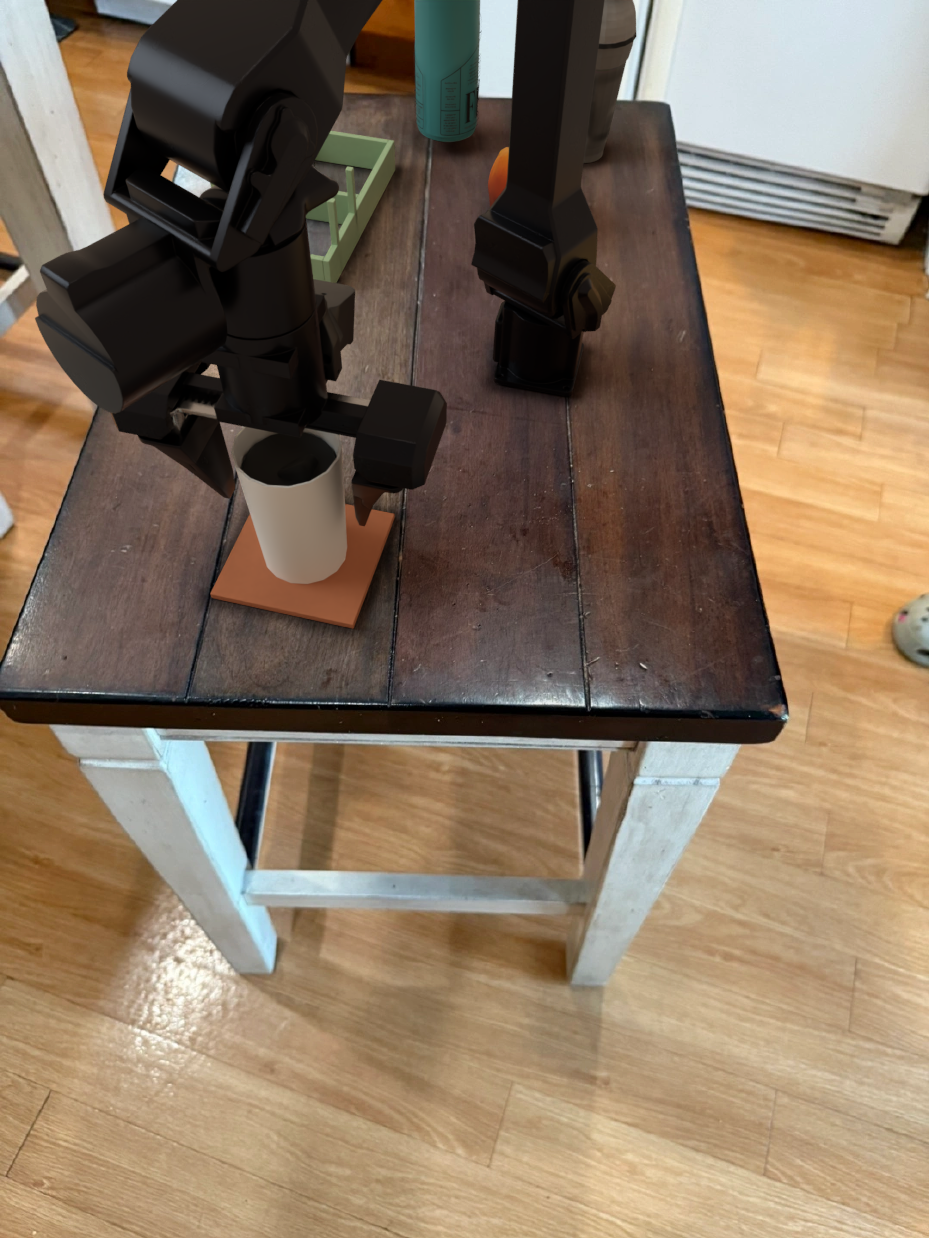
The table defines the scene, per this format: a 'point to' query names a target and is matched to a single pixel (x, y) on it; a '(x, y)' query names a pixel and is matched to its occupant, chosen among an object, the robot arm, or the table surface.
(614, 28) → the beverage cup
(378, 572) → the table surface
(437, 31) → the beverage bottle
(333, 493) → the off-white tumbler
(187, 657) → the table surface
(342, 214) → the dish rack
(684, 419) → the table surface
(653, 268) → the table surface
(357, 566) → the mat
